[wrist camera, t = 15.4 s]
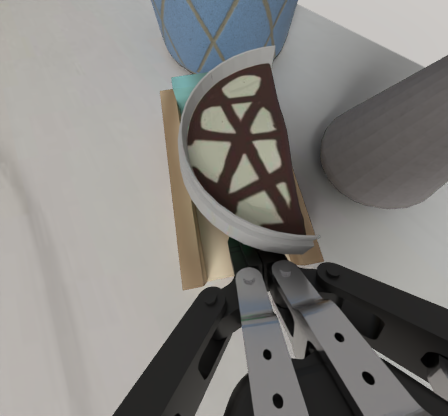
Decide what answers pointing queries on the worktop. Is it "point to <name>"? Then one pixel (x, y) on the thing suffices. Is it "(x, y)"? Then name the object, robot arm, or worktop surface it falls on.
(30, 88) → the worktop surface
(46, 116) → the worktop surface
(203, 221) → the channel board
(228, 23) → the planter
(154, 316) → the worktop surface
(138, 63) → the worktop surface
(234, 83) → the food container
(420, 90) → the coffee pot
